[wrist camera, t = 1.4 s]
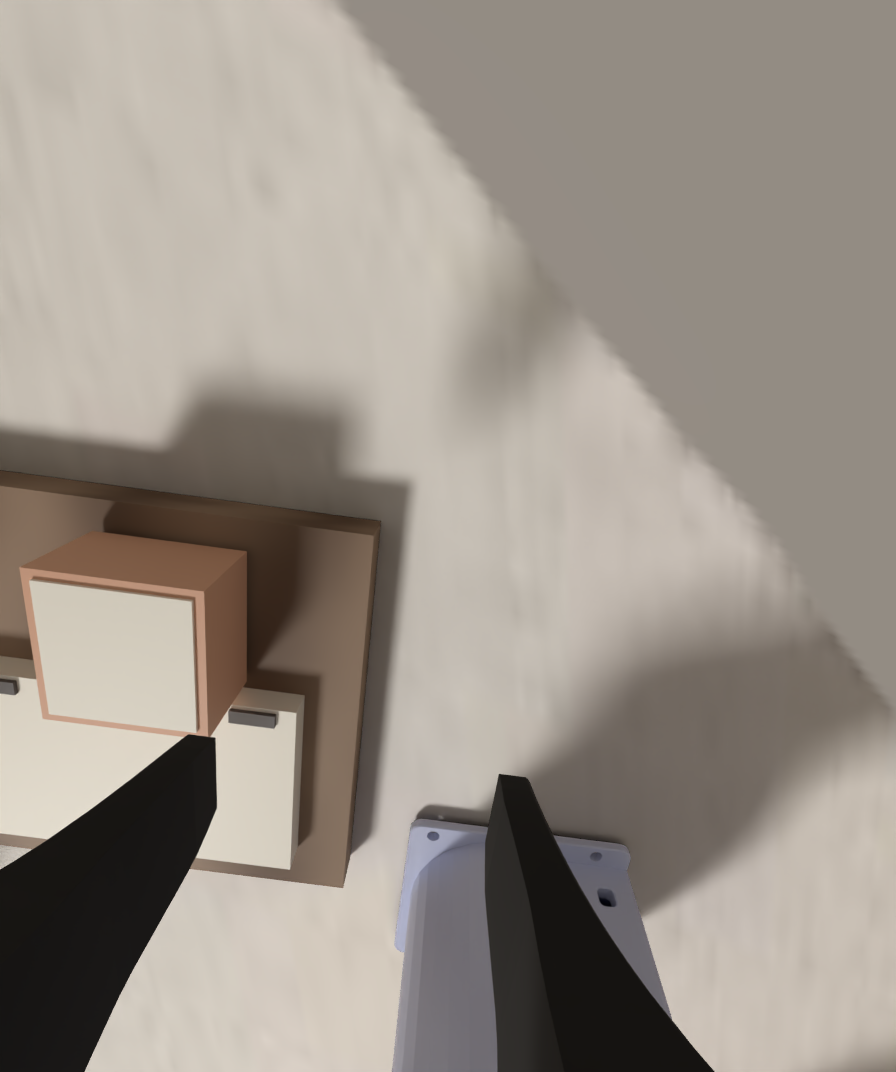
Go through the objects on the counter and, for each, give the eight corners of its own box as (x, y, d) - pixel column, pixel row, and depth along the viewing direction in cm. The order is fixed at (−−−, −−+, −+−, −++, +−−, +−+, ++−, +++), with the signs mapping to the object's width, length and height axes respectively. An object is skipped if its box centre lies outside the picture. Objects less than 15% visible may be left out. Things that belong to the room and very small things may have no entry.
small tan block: (246, 551, 17) (202, 593, 14) (246, 681, 19) (206, 742, 16) (92, 530, 17) (16, 568, 14) (105, 663, 19) (40, 720, 16)
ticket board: (380, 521, 19) (367, 548, 16) (350, 856, 24) (336, 915, 22) (-166, 448, 19) (-265, 464, 16) (-74, 802, 24) (-137, 856, 21)
